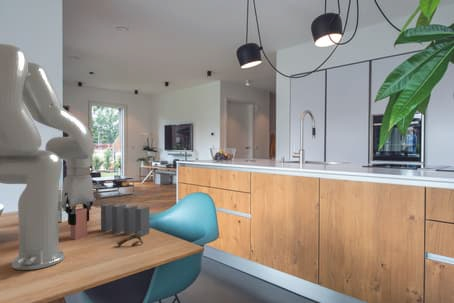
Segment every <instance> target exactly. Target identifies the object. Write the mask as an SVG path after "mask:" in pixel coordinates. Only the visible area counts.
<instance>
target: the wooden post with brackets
mask: <svg viewBox="0 0 454 303" xmlns="http://www.w3.org/2000/svg"><path fill="white" fill-rule="evenodd" d="M140 233H141V232H139V231H138V232H135V233H133V234H131V235H129V236H127V237H126V238H125V239H123V240H120V241H119V240H116V244H117V247H118V248H120V247H121V245H123V244H125V243H127V242H129V241H131V240H133V239H134V238H135V239H137V240H135V241H133V242H132V243H131V246H136V245H138V244H139V243H141V245H143V244H144V242H143V240H142V238H141V237H140V236H139V235H140Z"/></svg>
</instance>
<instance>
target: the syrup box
mask: <svg viewBox="0 0 454 303" xmlns="http://www.w3.org/2000/svg"><path fill="white" fill-rule="evenodd" d="M62 188H63V187H59V188H58V223H63V222H68V214H67V213H66V212H65V211H64V210H63V209H62V208H60V207H59V205H60V203H61V202H62ZM66 206H68V204H67V205H66Z"/></svg>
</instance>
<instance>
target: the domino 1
mask: <svg viewBox="0 0 454 303" xmlns="http://www.w3.org/2000/svg"><path fill="white" fill-rule="evenodd" d="M74 214H76V225H70V239H71V240H75V241H76V240H80V239H82V238H86V237H87V236H88V221H87V209H86V208H83V207H80V208H77V209H75V213H74Z"/></svg>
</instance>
